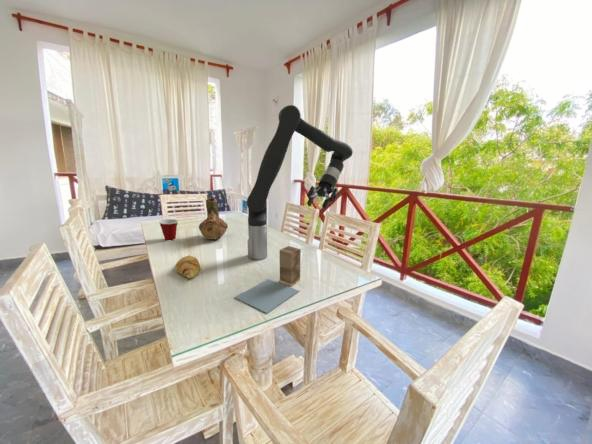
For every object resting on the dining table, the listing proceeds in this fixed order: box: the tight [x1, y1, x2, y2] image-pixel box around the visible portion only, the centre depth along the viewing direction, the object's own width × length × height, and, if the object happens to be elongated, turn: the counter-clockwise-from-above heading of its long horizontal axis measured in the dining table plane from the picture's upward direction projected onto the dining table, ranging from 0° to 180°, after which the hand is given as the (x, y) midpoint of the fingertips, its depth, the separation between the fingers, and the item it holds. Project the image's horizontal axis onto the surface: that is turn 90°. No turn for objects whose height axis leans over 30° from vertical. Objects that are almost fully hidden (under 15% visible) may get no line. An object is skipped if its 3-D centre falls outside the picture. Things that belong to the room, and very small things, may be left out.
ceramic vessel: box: [198, 197, 228, 240], centre depth 157 cm, size 17×26×25 cm, turn 16°
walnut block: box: [279, 245, 301, 287], centre depth 104 cm, size 6×6×14 cm
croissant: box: [174, 255, 201, 280], centre depth 114 cm, size 21×10×8 cm, turn 30°
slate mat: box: [234, 278, 300, 314], centre depth 95 cm, size 18×16×1 cm
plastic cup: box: [158, 218, 179, 241], centre depth 157 cm, size 11×11×12 cm
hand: (315, 206), depth 115 cm, fingers open, 7 cm apart
